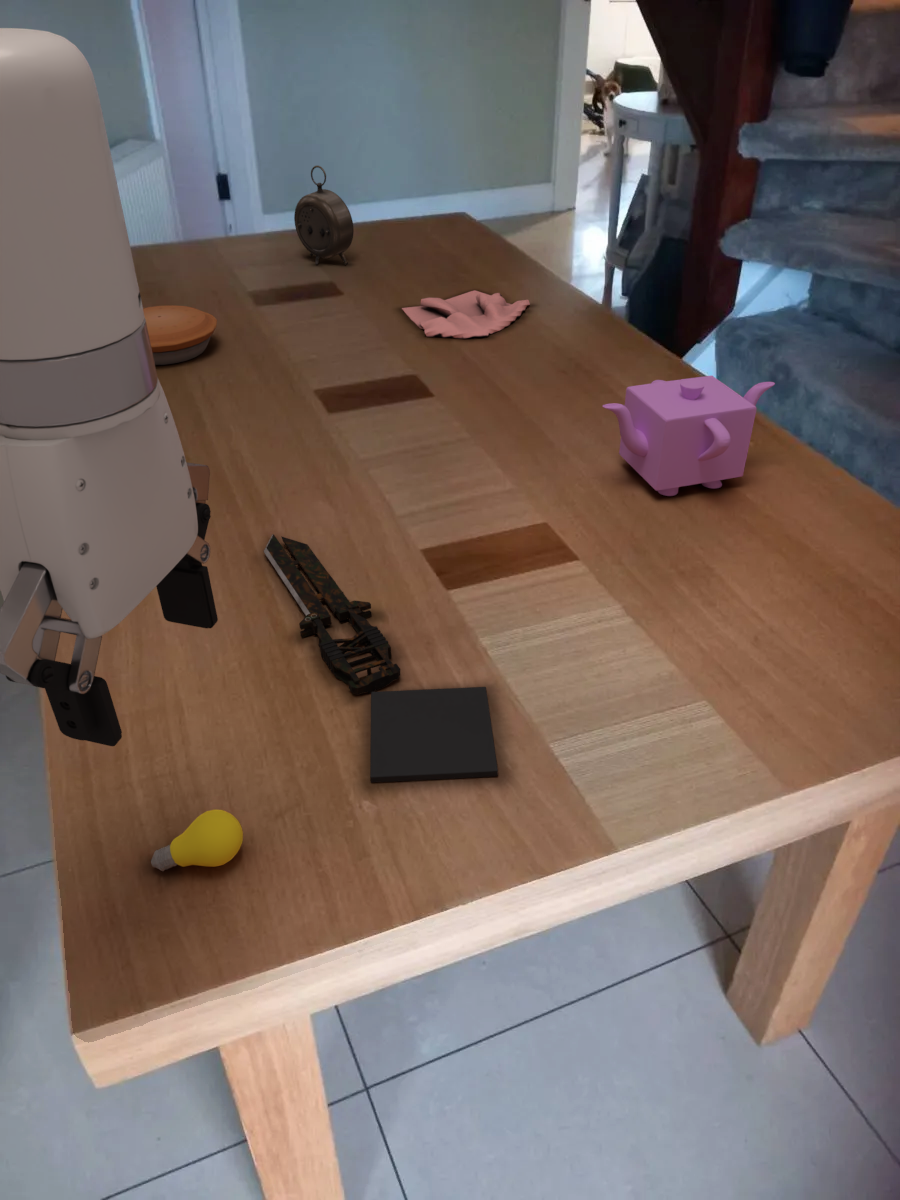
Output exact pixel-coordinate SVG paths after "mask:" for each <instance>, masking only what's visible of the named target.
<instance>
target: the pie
mask: <svg viewBox="0 0 900 1200" xmlns="http://www.w3.org/2000/svg"><path fill="white" fill-rule="evenodd" d="M143 311H144V317H145V320H146V324H147V329H148V334H149V339H150V344H151V348H152V353H153V358H154V363H155V366H166V365H174V364H180V363H183V362H187V361H190V360H192V359H195V358H197V357H199V356H200V355H202V354H203V353H204V352H205V350H206V349H207V347H208V345H209V342H210V341H211V338H212V335H213V333H214V332H215V330H216V329H217V324H218V320H217V318H216V317H215V316H214V315H213V314H210V313H208V312H206V311H202V310H200V309H198V308H196V307H191V306H186V305H175V304H173V305H171V304H170V305H155V306H148V307H143Z"/></svg>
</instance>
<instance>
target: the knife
mask: <svg viewBox="0 0 900 1200" xmlns="http://www.w3.org/2000/svg"><path fill="white" fill-rule="evenodd" d="M280 538H281V540H282V542H283V543H284V545H285V546H286V548H287V549H288V550H289V552H290V554H292V556H293V557H294V559H295V560H292V559H291V557H290V555H289V554H288V552H287V551H286V549H285V548H284V547H283V546H282V544H281V543H280V541H279V540H278V538H277V537H276V535H275V534H273V533H272V534H271V536H270V538H269V539H268V541H267V543H266V545H265V547H264V549H263V553H264V555H265V556H266V558H267V559H268V560H269V562H270V563H271V565H272V566H273V568H274V569H275V571H276V573H277V574H278V576H279V577H280V579H281V580H282V582H283V583H284V585H285V586H286V588H287V589H288V591H289V592H290V594H291V596H292V597H293V598H294V600H295V601H296V603H297V604H298V606H299V607H300V609H301V611H302V612H303V613H304V615H305V617H304V618H303V619H302V620H300V622H299V629H300V630H299V631H300V632H299V633H300V637H301V638H307V637H309V636H312V635H317V637H318V647H319V648H320V657H321V658H322V659H323V662H324V663H325V664H326V666H327V668H328V669H329V670H330V673H331V674H333V675H334V677H335V678H336V680H339V681H342V682H343V683H345V684H346V685H348V690H349V691H350V692H351V694H352V695H357V696H358V695H361V694H365V693H367V694H371V692H378V691H380V690H381V689H384V688H385V687H387V686H388V685H390V684H392V683H393V682H394V681H398V680H399V679H400V677H401V668H400V667H399V665H398V664H397V663H393V662H392V660H391V659H392V646H391V645H390V644H389V640H388V639H387V638H386V637H385V636H384V634H383V633H382V632H381V630H380V629H379V627H378V626H377V625H376V626H373V625H371V623H370V622H369V621H368V618H370V617H372V611H371V610H370V609H372V603H371V602H370V601H362V600H352V601H350V600H349V598H348V597H347V596H346V594H345V593H344V592H343V591H342V589H341V588H340V587H339V585H338V584H337V583H336V581H335V580H334V579H333V577H332V575H331V574H330V573H329V572H328V570H327V569H326V568H325V566H324V565H323V564H322V562H321V560H320V559H319V558H318V557H317V555H316V554H315V553H314V551H313V550H312V548H311V547H310V546H309V544H307V543H304V542H301V541H298V540H294V539H291V538H288V537H284V536H281V537H280ZM298 565H299V566H300V567H301V569H302V571H303V572H304V573H305V575H306V576H307V577H308V579H309V580H310V582H311V583H312V585H313V586H314V588H315V589H316V590H317V592H318V593H317V594H316V593H315V591H314V590H313V589H312V587H311V586H310V584H309V583H308V582H307V580H306V578H305V577H304V575H303V574H302V573H301V571H300V570H299V568H298V567H297V566H298ZM323 600H324V602H325V603H326V604H327V606H328V607H329V609H330V610H331V612H332V613H333V614H334V615H335V616H336V617H337V619H338V620H339V622H342V621H346V620H348V623H350V625H351V626H352V628H353V629H354V631H355V632H356V633H357V634H355V635H354V636H352V637H350V638H349V637H348V638H347V637H346V638H334V639H333V638H332V636H331V635H330V634H329V632H328V630H327V629H326V626H329V625H332V618H331V615H330V613H329V612H328V610H327V609H326V607H325V605H324V604H323V602H322V601H323ZM339 644H341V645H339ZM338 645H339V646H338ZM360 646H361V647H360ZM362 646H363V647H362ZM364 653H370V654H371V655H369V656H365V657H361V658H360V659H359V658H358V659H355V660H353V661H350V662H349V661H348V660H347V659H348V658H352V657H354V656H358V655H361V654H364ZM374 660H376V661H375V662H371V661H374ZM367 662H371V663H369V664H366V665H365V663H367ZM362 664H364V665H363V666H359V665H362ZM356 666H359V667H356ZM353 667H356V668H353ZM377 667H378V670H379V671H374V672H372V669H373V668H377ZM364 671H366V675H364V676H361V677H359V676H358V675H357V674H358V673H361V672H364Z"/></svg>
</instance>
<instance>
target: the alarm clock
mask: <svg viewBox="0 0 900 1200" xmlns="http://www.w3.org/2000/svg"><path fill="white" fill-rule="evenodd" d="M316 168H318V169H320V170H321V171H322V173H323V175H324V176H323V177H324V180H323V182H322V183H321V182H316V181H315V179H314V177H313V172H314V170H315V169H316ZM310 178H311V181H312V182H313V184H314V185H316V187H317V188H316V189H317V190H316V191H314V192H311V193H308V194H305V195H303V196H302V197H301V198H299V200H298V202H297V203H296V206H295V209H294V215H293V216H294V217H293V218H294V219H293V221H294V227H295V231H296V234H297V236H298V239H299V240H300V243H301V244H302V245H303V247H304V248H305V249H306V250H307V251H308V252H309V256H310V257H314V256H315V262H314V264H315V265H318V264H319V260H320V259H330V258H332V257H336V256H338V255H339V257H340V259H341V260H342V261H343V264H344V266H345V265H346V266H347V265H348V264H349V262H348V261H347V258H346V256H345V255H344V253H345V252H346V251H347V250H348V249H349V248H350V247H351V245H352V242H353V239H354V232H355V231H354V220H353V217H352V214H351V211H350V210H349V207H348V206H347V204H346V203H345V201H344V200H343V199H342V197H341V196H339V195H338V194H337V193H336V192H334V191H332V190H330V189H326V188H323V186H324V185H325V183H326V181H327V173H326V171H325V169H324V168H323V167H322V166H321V165H313V166H312V168H311V170H310Z"/></svg>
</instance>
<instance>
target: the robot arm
mask: <svg viewBox="0 0 900 1200" xmlns="http://www.w3.org/2000/svg"><path fill="white" fill-rule="evenodd" d="M102 109H103V108H102V105H101V100H100V96H99V91H98V88H97V84H96V80H95V76H94V73H93V70H92V68H91V66H90V64H89V62H88V60H87V58H86V57H85V55H84V54H83V52H82V51H81V50H80V49H79V48H78V47H77V45H75V44H74V43H73V42H71V41H70V40H69V39H68V38H66V37H64V36H63V35H60V34H56V33H53V32H52V31H47V30H42V29H32V28H19V27H18V28H17V27H12V28H11V27H0V593H1V597H2V599H3V603H2V605H1V606H0V674H1V675H3V676H5V678H6V679H7V680H8V681H9V682H13V683H15V684H16V683H17V684H22V685H27V686H31V687H36V688H40V689H44V690H45V693H46V696H47V699H48V702H49V704H50V707H51V710H52V712H53V715H54V718H55V721H56V723H57V724H56V725H57V727H58V730H59V731H60V733H62V735H64V736H66V737H68V738H71V739H73V740H78V741H82V742H83V741H85V742H91V743H94V744H99V745H104V746H108V747H115V746H116V745H117V744H118V743H119V742H120V741H121V740H122V738H123V735H122V733H123V731H122V727H121V725H120V721H119V718H118V715H117V711H116V709H115V705H114V702H113V698H112V694H111V692H110V688H109V686H108V682H107V680H106V679H105V678H103V677H101V676H96V669H97V665H98V660H99V654H100V651H101V645H102V640H103V635H106V634H107V633H109V632H110V631H112V630H113V629H114V628H115V627H117V626H118V625H119V624H120V623H121V622H123V621H124V620H125V618H126V617H127V616H129V615H130V614H131V613H132V612H133V611H134V610H135V609H136V608H137V607H138V606H139V605H140V603H142V602H143V601H144V599H146V598H147V597H148V595H149V594H150V593H151V592H152V591H153V590H154V589H155V588H156V591H157V595H158V599H159V603H160V607H161V611H162V616H163V619H164V620H165V621H167V622H169V623H174V624H179V625H185V626H191V627H196V628H201V629H212V628H213V627H214V626H215V625H216V624H217V623H218V621H219V619H218V613H217V608H216V604H215V597H214V592H213V589H212V583H211V578H210V573H209V569H208V568H209V567H208V566H206V565H203V564H206V563H207V562H208V561H209V559H210V556H211V545H210V543H209V542H208V541H206V540H205V539H206V535H207V531H208V526H209V522H210V519H211V517H212V515H211V511H212V510H211V507H210V505H209V504H208V503H207V501H209V494H210V493H209V491H210V482H211V481H210V479H211V470H210V469H211V468H210V467H209V465H207V464H200V463H194V462H188V461H187V459H186V456H185V451H184V448H183V445H182V442H181V438H180V435H179V431H178V428H177V425H176V422H175V419H174V416H173V412H172V411H171V410H172V409H171V408H170V405H169V402H168V399H167V397H166V394H165V392H164V389H163V387H162V384H161V381H160V380H159V377H158V372H157V369H156V365H155V363H154V358H153V353H152V348H151V344H150V339H149V334H148V329H147V324H146V320H145V317H144V311H143V308H144V307H143V300H142V295H141V291H140V287H139V283H138V278H137V273H136V268H135V263H134V258H133V253H132V248H131V244H130V243H131V242H130V239H129V233H128V229H127V224H126V220H125V215H124V210H123V205H122V200H121V195H120V191H119V185H118V181H117V177H116V172H115V167H114V161H113V157H112V152H111V148H110V143H109V137H108V134H107V133H108V132H107V128H106V124H105V119H104V114H103V110H102ZM63 611H64V612H65V614H66V615H67V617H68V618H66V617H62V613H63ZM61 633H64V634H69V635H73V636H75V641H74V645H73V650H72V656H71V660H70V663H68V662H62V661H58V660H56V658H57V654H58V649H59V643H60V639H61Z"/></svg>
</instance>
